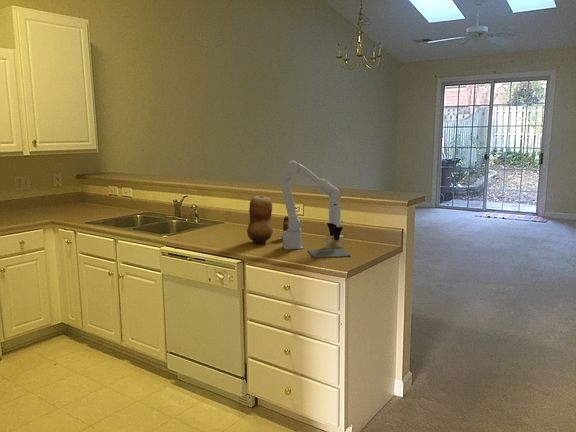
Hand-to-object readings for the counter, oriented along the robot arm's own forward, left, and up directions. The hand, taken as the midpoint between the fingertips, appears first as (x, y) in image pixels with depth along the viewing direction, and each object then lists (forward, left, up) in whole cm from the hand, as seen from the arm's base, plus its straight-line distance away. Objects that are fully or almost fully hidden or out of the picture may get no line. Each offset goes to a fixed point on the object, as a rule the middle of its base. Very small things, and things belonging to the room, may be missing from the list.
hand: (334, 238), depth 251 cm
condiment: (-20, +26, -5) cm, 33 cm away
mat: (-6, -12, -5) cm, 14 cm away
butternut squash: (-36, +18, -5) cm, 41 cm away
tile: (0, 0, -5) cm, 5 cm away
